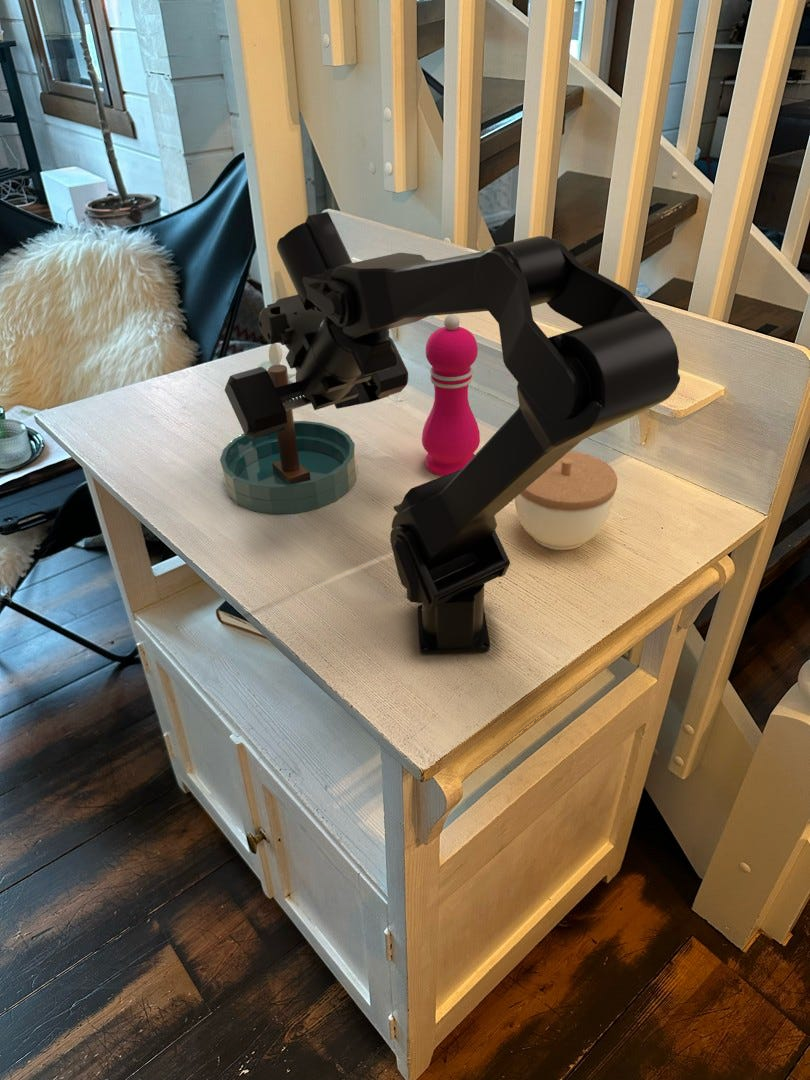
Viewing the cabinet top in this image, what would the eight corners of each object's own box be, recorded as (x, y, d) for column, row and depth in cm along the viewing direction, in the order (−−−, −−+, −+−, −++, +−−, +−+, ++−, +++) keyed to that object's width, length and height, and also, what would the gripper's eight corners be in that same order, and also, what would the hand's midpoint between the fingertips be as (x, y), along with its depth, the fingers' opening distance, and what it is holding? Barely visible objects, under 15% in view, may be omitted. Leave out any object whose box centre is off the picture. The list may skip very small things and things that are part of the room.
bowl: (355, 517, 88) (352, 484, 86) (216, 522, 88) (209, 489, 86) (358, 449, 101) (356, 418, 99) (237, 453, 101) (232, 423, 99)
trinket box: (581, 576, 78) (591, 500, 73) (492, 541, 84) (495, 467, 78) (624, 526, 85) (636, 454, 80) (539, 497, 90) (545, 427, 85)
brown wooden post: (310, 481, 94) (297, 371, 85) (290, 488, 92) (275, 378, 84) (293, 465, 97) (278, 358, 88) (273, 472, 96) (256, 364, 87)
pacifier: (267, 398, 115) (301, 385, 118) (260, 359, 112) (295, 347, 114) (245, 382, 120) (277, 371, 123) (237, 345, 116) (271, 334, 119)
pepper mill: (475, 486, 93) (480, 327, 81) (417, 481, 94) (414, 324, 83) (482, 457, 99) (487, 305, 87) (427, 452, 100) (425, 302, 88)
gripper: (388, 256, 76) (341, 333, 90) (214, 295, 67) (192, 373, 81) (436, 355, 75) (381, 416, 89) (265, 406, 67) (234, 465, 81)
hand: (300, 415), depth 85 cm, fingers open, 9 cm apart
